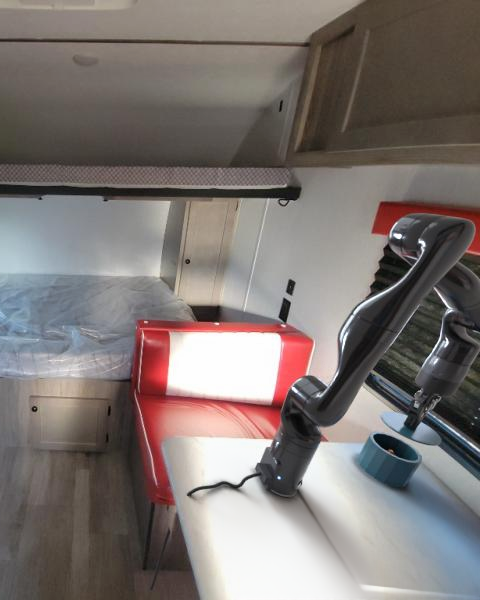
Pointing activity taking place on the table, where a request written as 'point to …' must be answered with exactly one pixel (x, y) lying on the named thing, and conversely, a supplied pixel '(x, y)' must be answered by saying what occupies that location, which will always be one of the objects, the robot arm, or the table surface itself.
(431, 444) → the lid
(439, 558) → the table surface
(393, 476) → the pot
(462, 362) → the robot arm
